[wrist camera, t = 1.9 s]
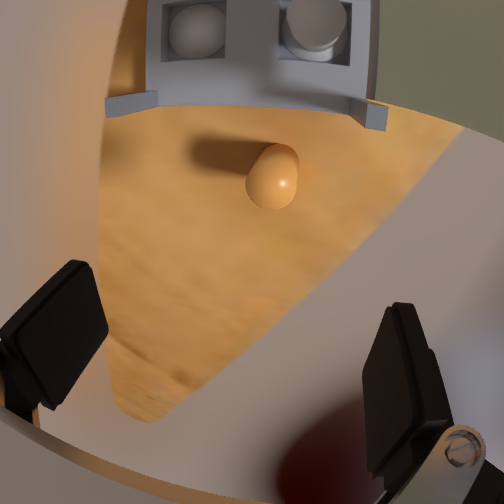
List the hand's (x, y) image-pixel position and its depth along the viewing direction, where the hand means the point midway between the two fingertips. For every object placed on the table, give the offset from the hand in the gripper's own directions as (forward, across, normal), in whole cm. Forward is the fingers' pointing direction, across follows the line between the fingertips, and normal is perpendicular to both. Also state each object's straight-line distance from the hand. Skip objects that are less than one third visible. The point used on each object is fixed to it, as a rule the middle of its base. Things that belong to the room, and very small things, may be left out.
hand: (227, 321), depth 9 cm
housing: (+16, +2, -11) cm, 20 cm away
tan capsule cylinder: (+16, 0, -1) cm, 17 cm away
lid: (+1, -6, -11) cm, 12 cm away
